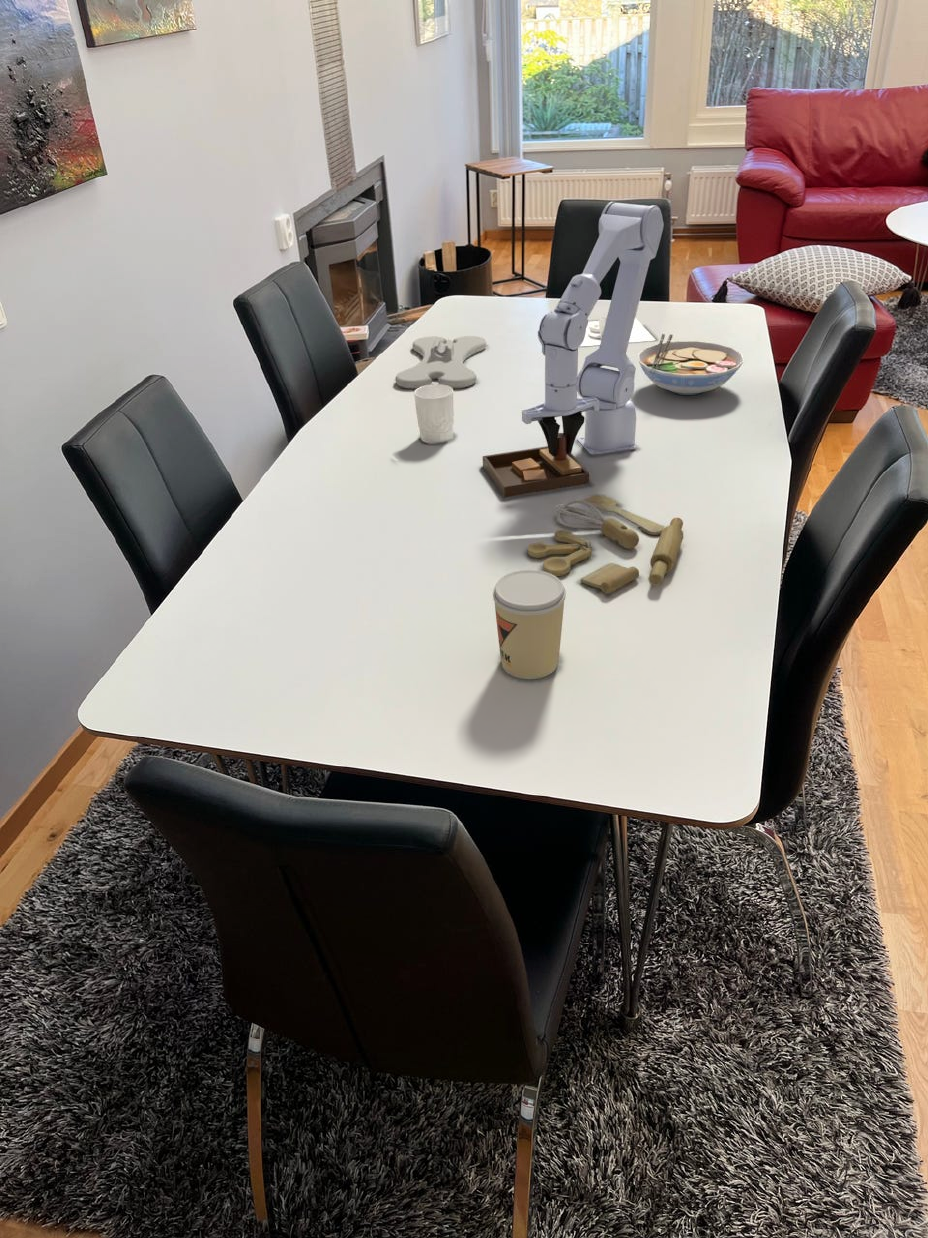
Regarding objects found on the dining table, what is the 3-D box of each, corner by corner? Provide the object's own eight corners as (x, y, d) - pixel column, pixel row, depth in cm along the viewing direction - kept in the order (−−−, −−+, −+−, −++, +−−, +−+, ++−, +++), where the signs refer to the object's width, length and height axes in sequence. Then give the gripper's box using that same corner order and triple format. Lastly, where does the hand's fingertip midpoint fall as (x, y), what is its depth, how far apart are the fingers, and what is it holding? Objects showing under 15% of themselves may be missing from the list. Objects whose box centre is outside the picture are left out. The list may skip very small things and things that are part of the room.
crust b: (543, 475, 171) (543, 469, 170) (546, 484, 168) (546, 478, 167) (522, 476, 171) (522, 470, 170) (524, 485, 168) (524, 480, 167)
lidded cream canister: (491, 645, 128) (488, 571, 121) (558, 639, 128) (559, 565, 122) (499, 686, 120) (496, 610, 114) (570, 680, 121) (571, 603, 114)
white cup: (451, 446, 185) (448, 398, 180) (413, 444, 187) (409, 397, 181) (459, 431, 192) (456, 384, 186) (422, 429, 193) (419, 383, 188)
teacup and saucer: (585, 330, 244) (585, 315, 241) (614, 328, 244) (615, 312, 242) (592, 340, 236) (592, 324, 234) (622, 338, 237) (623, 322, 235)
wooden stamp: (557, 456, 177) (557, 423, 173) (581, 477, 169) (582, 443, 165) (539, 460, 176) (539, 427, 172) (562, 481, 168) (563, 447, 164)
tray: (562, 455, 179) (562, 443, 178) (589, 485, 168) (589, 473, 166) (482, 468, 176) (482, 455, 175) (504, 499, 165) (504, 487, 163)
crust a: (530, 463, 176) (530, 457, 175) (540, 471, 173) (540, 465, 172) (511, 467, 174) (511, 462, 174) (521, 475, 171) (521, 469, 171)
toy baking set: (528, 497, 165) (528, 479, 163) (672, 496, 163) (674, 477, 161) (526, 596, 138) (526, 576, 136) (699, 596, 136) (701, 575, 134)
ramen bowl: (734, 414, 192) (739, 375, 188) (625, 405, 199) (627, 368, 194) (744, 373, 211) (749, 338, 207) (645, 367, 218) (647, 333, 214)
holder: (487, 342, 240) (487, 323, 237) (474, 389, 212) (473, 367, 209) (415, 343, 242) (414, 324, 239) (393, 389, 214) (391, 368, 211)
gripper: (587, 368, 168) (585, 437, 176) (514, 381, 164) (515, 451, 172) (605, 380, 162) (602, 451, 170) (530, 393, 159) (531, 466, 166)
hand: (560, 452), depth 171 cm, fingers closed on wooden stamp, 2 cm apart
